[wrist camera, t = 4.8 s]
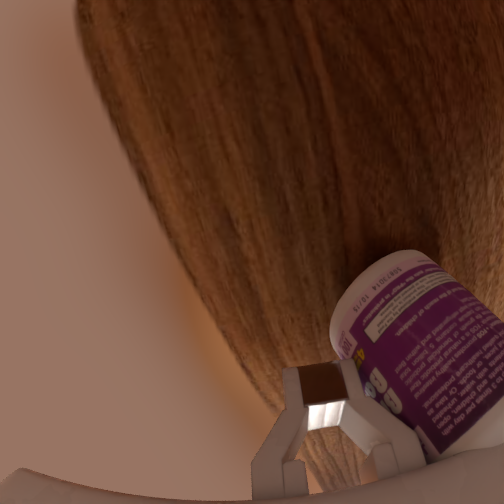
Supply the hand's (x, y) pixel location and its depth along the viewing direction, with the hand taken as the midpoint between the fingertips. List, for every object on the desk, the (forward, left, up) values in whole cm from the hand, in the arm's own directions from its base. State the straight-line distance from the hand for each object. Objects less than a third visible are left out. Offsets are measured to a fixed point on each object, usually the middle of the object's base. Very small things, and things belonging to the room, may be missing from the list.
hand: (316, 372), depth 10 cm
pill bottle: (0, +3, -3) cm, 4 cm away
